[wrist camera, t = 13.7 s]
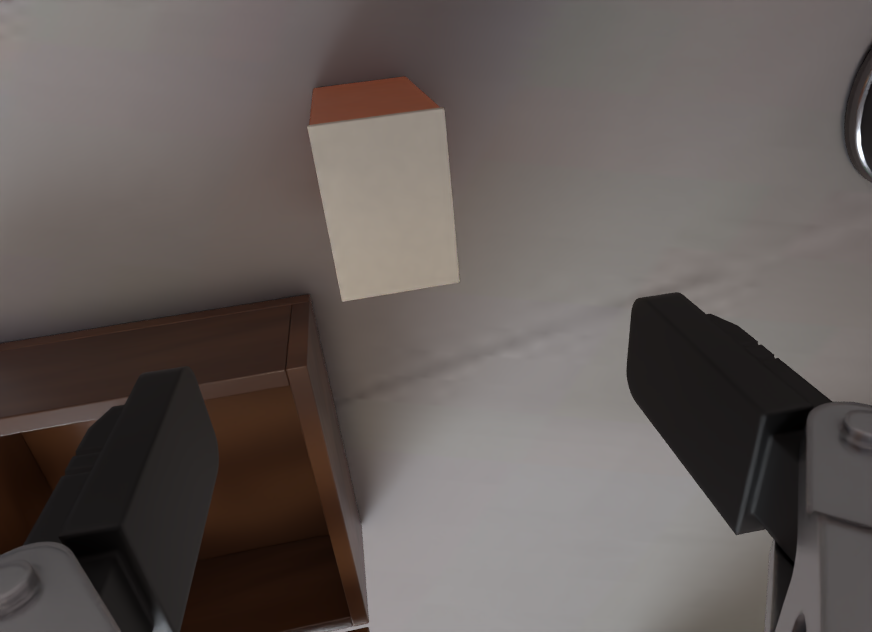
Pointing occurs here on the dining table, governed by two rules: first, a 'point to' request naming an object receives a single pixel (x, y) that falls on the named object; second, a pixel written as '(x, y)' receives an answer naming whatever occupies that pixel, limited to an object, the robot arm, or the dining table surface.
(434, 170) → the drink carton
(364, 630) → the lid
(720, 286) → the dining table surface
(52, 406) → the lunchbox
